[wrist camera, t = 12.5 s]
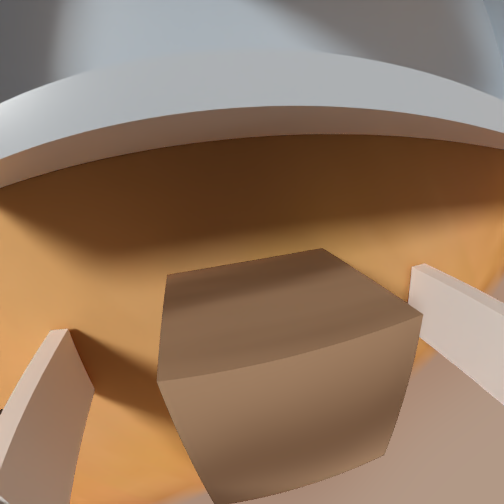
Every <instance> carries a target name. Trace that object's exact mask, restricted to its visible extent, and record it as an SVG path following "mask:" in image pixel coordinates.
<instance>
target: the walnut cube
mask: <svg viewBox="0 0 504 504" xmlns="http://www.w3.org/2000/svg"><path fill="white" fill-rule="evenodd" d="M422 319H423V314H422V313H421V312H419V311H418V310H416V309H415V308H413V307H412V306H410V305H409V304H407V303H406V302H404V301H403V300H402V299H400V298H399V297H397V296H396V295H394V294H393V293H391V292H390V291H388V290H386V289H385V288H383V287H382V286H380V285H379V284H377V283H376V282H374V281H373V280H371V279H370V278H368V277H367V276H365V275H364V274H362V273H360V272H359V271H357V270H356V269H354V268H353V267H351V266H350V265H348V264H346V263H345V262H343V261H342V260H340V259H339V258H337V257H335V256H334V255H332V254H331V253H329V252H327V251H326V250H324V249H323V248H321V249H315V250H309V251H304V252H298V253H292V254H287V255H281V256H275V257H269V258H264V259H258V260H252V261H246V262H240V263H235V264H229V265H223V266H217V267H211V268H205V269H199V270H193V271H187V272H182V273H176V274H170V275H167V280H166V288H165V296H164V304H163V313H162V323H161V333H160V344H159V357H158V370H157V384H158V386H159V389H160V391H161V394H162V397H163V399H164V402H165V404H166V406H167V409H168V411H169V414H170V416H171V418H172V421H173V423H174V425H175V427H176V430H177V432H178V434H179V436H180V439H181V441H182V443H183V445H184V447H185V449H186V451H187V453H188V455H189V457H190V459H191V462H192V464H193V465H194V467H195V469H196V471H197V473H198V475H199V477H200V479H201V481H202V483H203V485H204V486H205V488H206V490H207V492H208V494H209V495H210V497H211V499H212V501H213V502H214V504H231V503H237V502H243V501H248V500H253V499H257V498H262V497H266V496H271V495H275V494H279V493H282V492H286V491H290V490H293V489H297V488H300V487H303V486H306V485H310V484H313V483H316V482H319V481H322V480H325V479H328V478H330V477H333V476H336V475H339V474H341V473H344V472H346V471H349V470H351V469H354V468H356V467H359V466H361V465H363V464H365V463H368V462H370V461H372V460H375V459H377V458H379V457H381V456H383V455H384V454H385V452H386V449H387V446H388V444H389V441H390V438H391V436H392V433H393V430H394V427H395V424H396V421H397V418H398V415H399V412H400V409H401V406H402V403H403V399H404V396H405V392H406V389H407V386H408V382H409V378H410V374H411V371H412V367H413V362H414V358H415V354H416V349H417V345H418V340H419V335H420V330H421V325H422Z"/></svg>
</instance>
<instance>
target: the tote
mask: <svg viewBox="0 0 504 504" xmlns="http://www.w3.org/2000/svg"><path fill="white" fill-rule="evenodd" d="M306 134H359V135H385V136H402V137H415V138H426V139H436V140H445V141H453V142H460V143H468V144H474V145H481V146H487V147H492V148H498V149H503V150H504V0H0V188H2V187H4V186H7V185H10V184H13V183H16V182H19V181H22V180H26V179H29V178H32V177H35V176H39V175H42V174H45V173H49V172H52V171H56V170H60V169H63V168H67V167H71V166H75V165H79V164H83V163H87V162H92V161H96V160H100V159H105V158H109V157H114V156H119V155H124V154H129V153H134V152H140V151H145V150H151V149H157V148H163V147H170V146H176V145H183V144H191V143H199V142H207V141H216V140H225V139H236V138H248V137H262V136H279V135H306Z"/></svg>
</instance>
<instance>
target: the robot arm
mask: <svg viewBox="0 0 504 504" xmlns="http://www.w3.org/2000/svg"><path fill="white" fill-rule="evenodd" d="M408 304H409V305H410V306H412V307H413V308H415V309H416V310H418V311H419V312H421V313H422V314H423V319H422V325H421V330H420V335H419V337H420V338H421V339H423V340H424V341H425V342H426V343H428V344H429V345H430V346H431V347H433V348H434V349H435V350H437V351H438V352H439V353H440V354H442V355H443V356H444V357H445V358H447V359H448V360H449V361H450V362H452V363H453V364H454V365H455V366H457V367H458V368H459V369H460V370H461V371H463V372H464V373H465V374H466V375H468V376H469V377H470V378H471V379H473V380H474V381H475V382H476V383H478V384H479V385H480V386H481V387H482V388H484V389H485V390H486V391H487V392H488V393H490V394H491V395H492V396H493V397H494V398H495V399H497V400H498V401H499V402H500V403H501V404H502V405H504V303H503V302H501V301H499V300H497V299H495V298H493V297H491V296H490V295H488V294H486V293H484V292H482V291H480V290H478V289H476V288H474V287H472V286H470V285H468V284H466V283H464V282H462V281H460V280H458V279H456V278H454V277H452V276H450V275H448V274H446V273H444V272H442V271H440V270H438V269H435V268H433V267H431V266H429V265H427V264H425V263H424V264H420V265H416V266H413V267H412V271H411V281H410V290H409V298H408ZM94 391H95V389H94V387H93V385H92V383H91V381H90V379H89V377H88V374H87V372H86V370H85V368H84V366H83V363H82V361H81V359H80V357H79V354H78V352H77V349H76V347H75V345H74V342H73V340H72V337H71V335H70V332H69V329H59V330H51V331H50V332H49V334H48V335H47V337H46V338H45V340H44V341H43V343H42V344H41V346H40V347H39V349H38V350H37V352H36V354H35V355H34V357H33V358H32V360H31V362H30V363H29V365H28V366H27V368H26V370H25V371H24V373H23V375H22V377H21V378H20V380H19V382H18V383H17V385H16V387H15V389H14V390H13V392H12V394H11V396H10V398H9V400H8V401H7V403H6V405H5V407H4V409H1V410H0V504H70V497H71V491H72V485H73V479H74V474H75V469H76V464H77V459H78V454H79V450H80V445H81V441H82V437H83V433H84V429H85V425H86V421H87V417H88V413H89V409H90V406H91V402H92V398H93V395H94Z"/></svg>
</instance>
